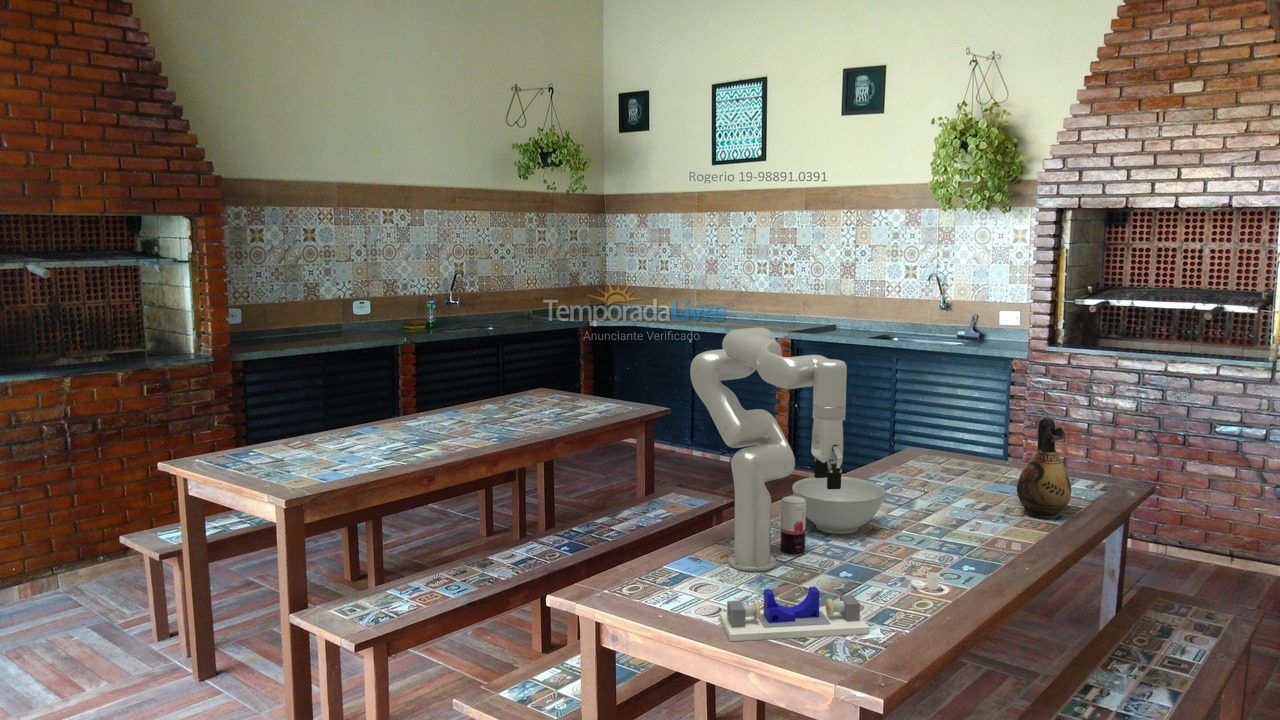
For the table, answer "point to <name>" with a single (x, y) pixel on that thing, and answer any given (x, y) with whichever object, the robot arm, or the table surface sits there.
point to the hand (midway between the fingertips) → (827, 483)
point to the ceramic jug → (1045, 476)
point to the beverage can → (793, 525)
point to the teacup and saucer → (930, 584)
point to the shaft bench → (830, 622)
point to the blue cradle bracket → (788, 614)
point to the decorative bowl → (839, 503)
